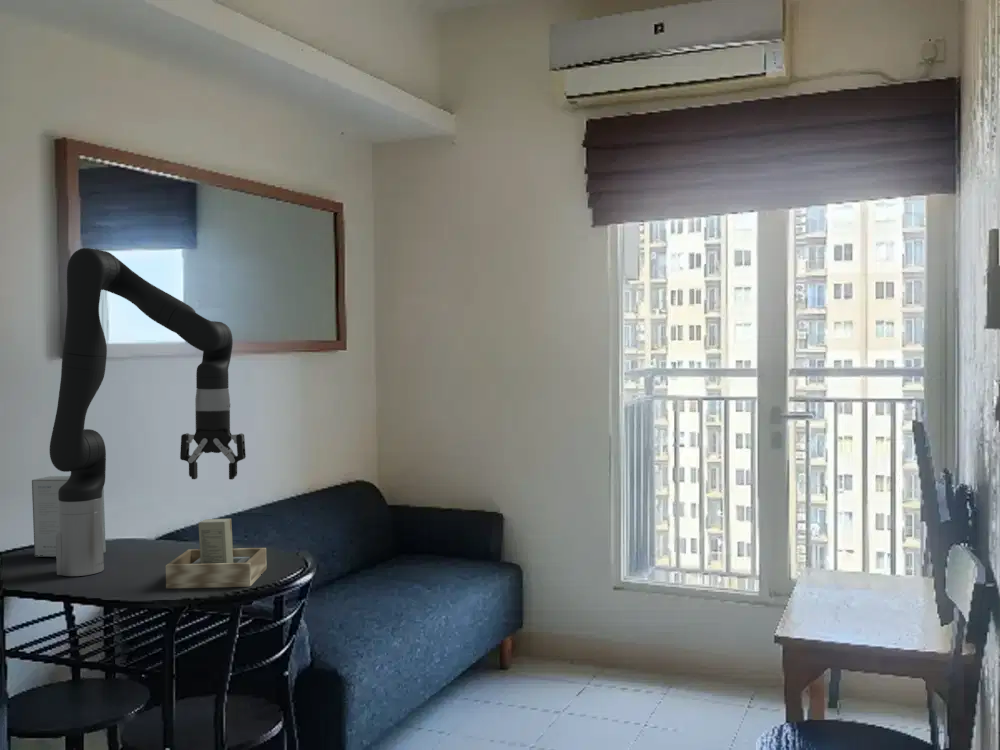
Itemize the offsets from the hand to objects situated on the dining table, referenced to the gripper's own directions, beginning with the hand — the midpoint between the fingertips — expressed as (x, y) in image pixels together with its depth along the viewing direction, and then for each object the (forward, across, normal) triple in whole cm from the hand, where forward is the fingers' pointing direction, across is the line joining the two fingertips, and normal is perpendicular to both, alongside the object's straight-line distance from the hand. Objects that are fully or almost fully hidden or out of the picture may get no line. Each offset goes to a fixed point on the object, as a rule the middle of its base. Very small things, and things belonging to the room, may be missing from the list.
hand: (213, 479), depth 209 cm
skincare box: (+21, +2, -4) cm, 22 cm away
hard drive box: (+23, -43, +23) cm, 54 cm away
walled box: (+22, +2, -4) cm, 22 cm away
